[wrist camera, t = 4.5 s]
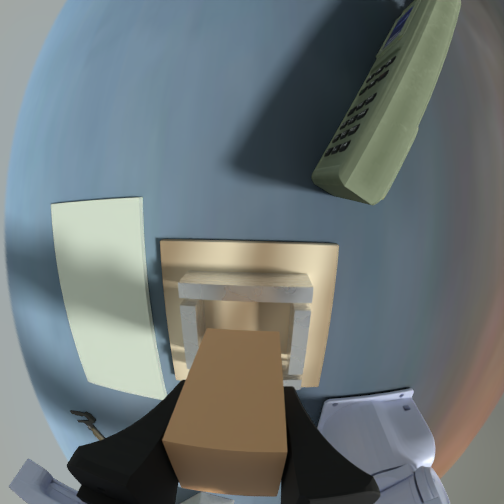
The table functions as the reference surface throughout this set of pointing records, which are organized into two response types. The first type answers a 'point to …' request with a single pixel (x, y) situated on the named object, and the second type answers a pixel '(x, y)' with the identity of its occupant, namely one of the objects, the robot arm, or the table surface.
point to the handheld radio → (389, 105)
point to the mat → (108, 292)
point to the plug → (231, 416)
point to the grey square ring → (248, 290)
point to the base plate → (252, 313)
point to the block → (207, 499)
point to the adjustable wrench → (89, 423)
